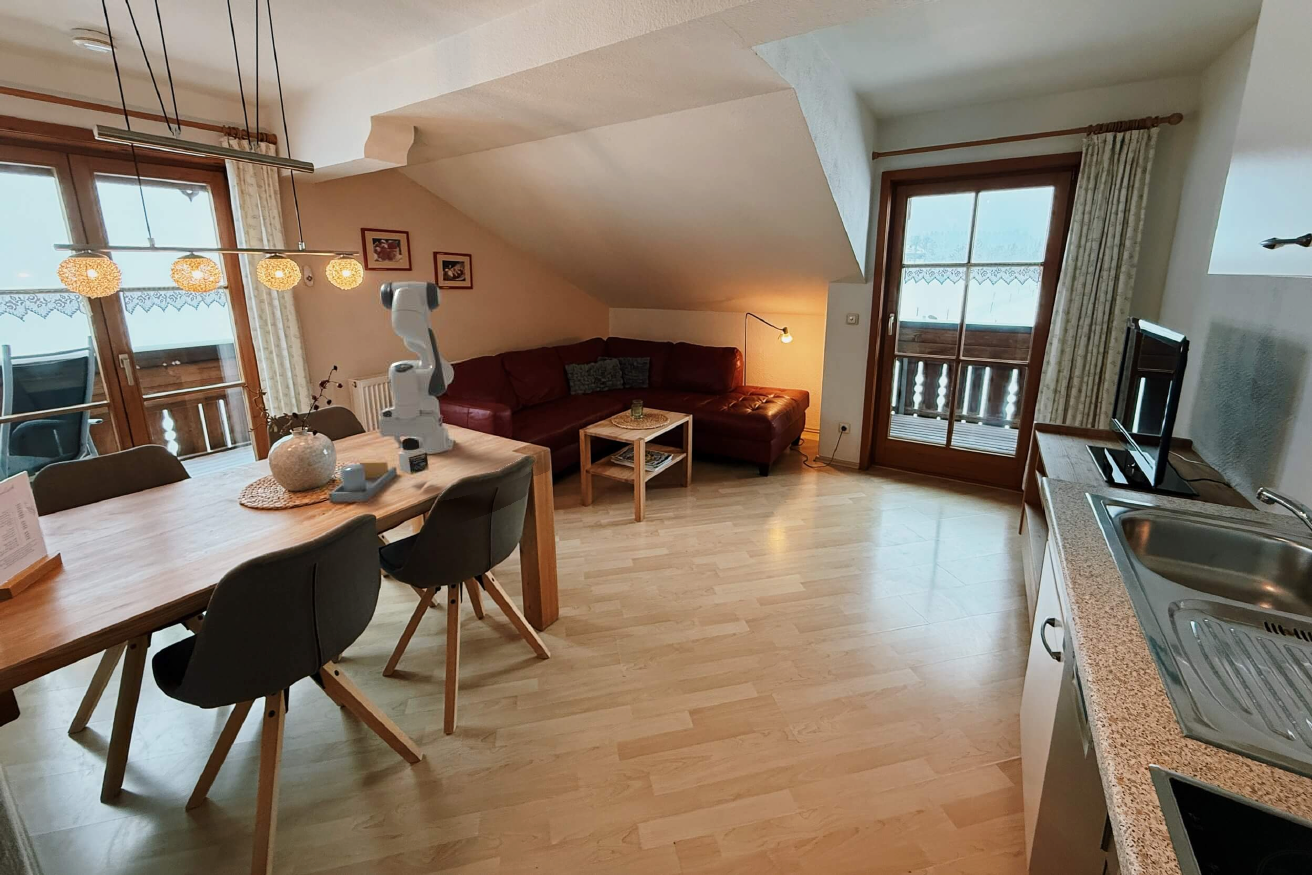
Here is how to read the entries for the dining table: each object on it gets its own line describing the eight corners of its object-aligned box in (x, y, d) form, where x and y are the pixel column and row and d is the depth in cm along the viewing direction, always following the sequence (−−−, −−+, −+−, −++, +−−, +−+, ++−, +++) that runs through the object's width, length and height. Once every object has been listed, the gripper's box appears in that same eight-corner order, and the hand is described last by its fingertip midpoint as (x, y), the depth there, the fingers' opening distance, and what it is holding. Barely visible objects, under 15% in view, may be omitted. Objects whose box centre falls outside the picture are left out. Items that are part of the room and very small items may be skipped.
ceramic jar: (350, 491, 201) (346, 464, 198) (370, 491, 201) (366, 464, 198) (340, 499, 194) (336, 471, 191) (362, 499, 194) (358, 471, 192)
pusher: (363, 476, 214) (361, 461, 212) (389, 476, 214) (387, 461, 212) (362, 478, 212) (359, 462, 211) (387, 477, 213) (385, 462, 211)
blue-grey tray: (363, 477, 217) (362, 467, 216) (397, 476, 218) (395, 466, 217) (330, 504, 192) (328, 493, 191) (368, 504, 193) (366, 493, 192)
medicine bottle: (411, 475, 204) (407, 443, 200) (400, 470, 208) (395, 439, 204) (429, 469, 209) (425, 438, 206) (418, 465, 213) (414, 434, 210)
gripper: (440, 408, 206) (444, 444, 210) (382, 408, 205) (387, 444, 209) (435, 412, 200) (439, 450, 204) (375, 412, 199) (380, 450, 203)
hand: (412, 447), depth 206 cm, fingers closed on medicine bottle, 6 cm apart
